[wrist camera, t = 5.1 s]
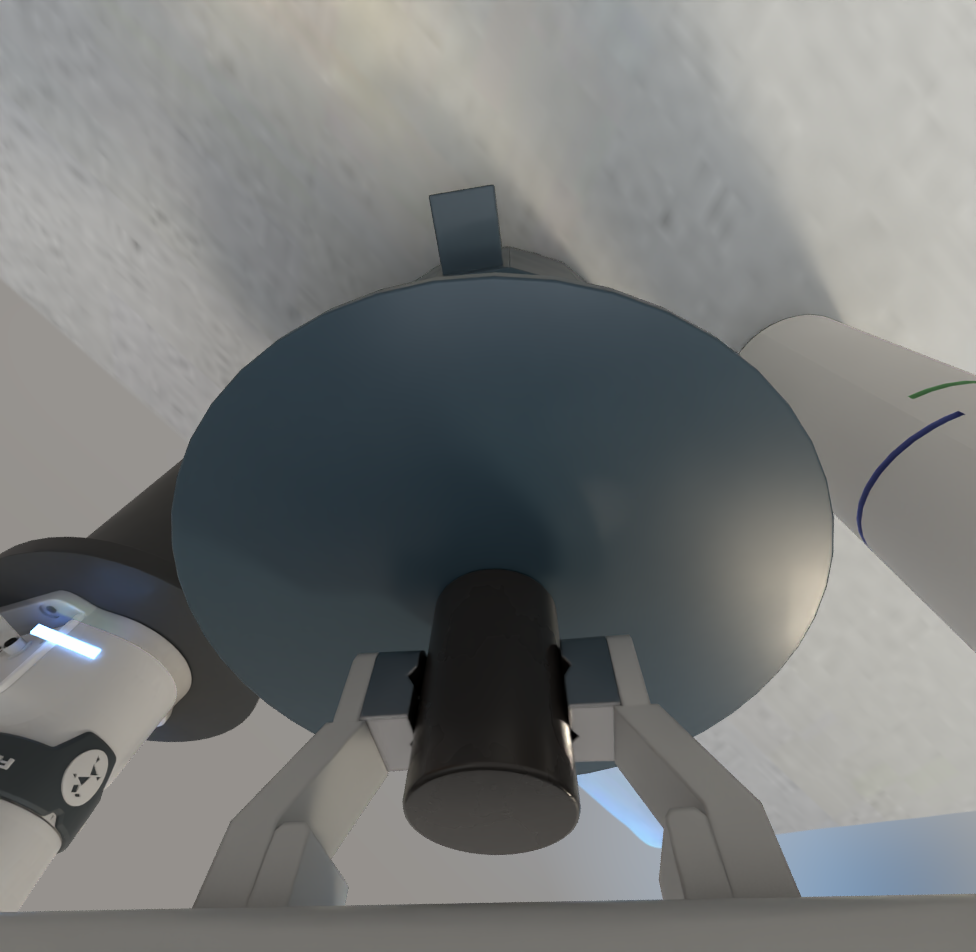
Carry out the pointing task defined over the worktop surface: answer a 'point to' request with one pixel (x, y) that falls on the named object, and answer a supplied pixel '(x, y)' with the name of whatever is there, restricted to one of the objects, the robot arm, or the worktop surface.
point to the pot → (481, 239)
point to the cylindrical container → (888, 450)
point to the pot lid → (501, 527)
